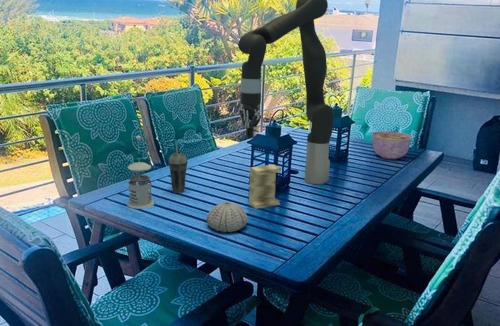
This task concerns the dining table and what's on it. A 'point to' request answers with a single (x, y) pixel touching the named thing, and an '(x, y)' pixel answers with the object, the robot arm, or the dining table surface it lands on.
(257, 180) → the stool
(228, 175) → the dining table surface
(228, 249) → the dining table surface
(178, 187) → the beverage cup
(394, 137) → the bowl of food
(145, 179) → the french press
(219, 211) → the sea urchin shell
